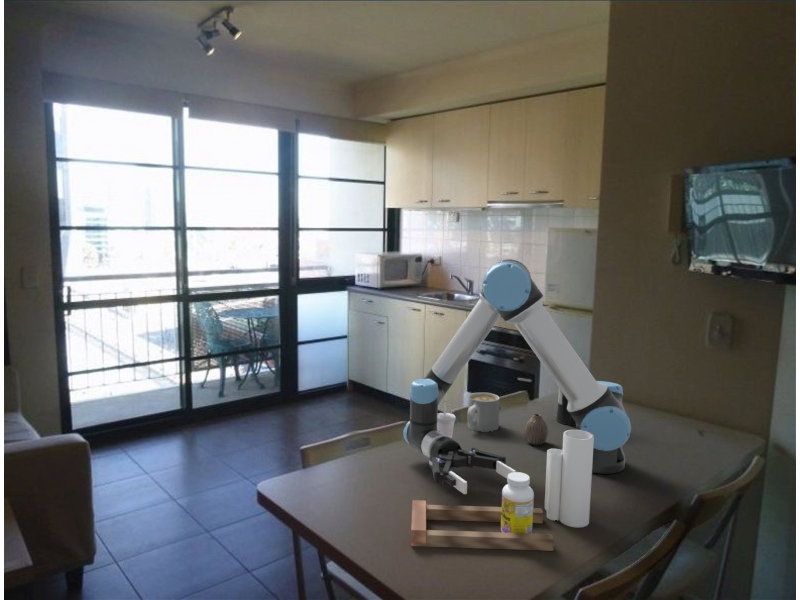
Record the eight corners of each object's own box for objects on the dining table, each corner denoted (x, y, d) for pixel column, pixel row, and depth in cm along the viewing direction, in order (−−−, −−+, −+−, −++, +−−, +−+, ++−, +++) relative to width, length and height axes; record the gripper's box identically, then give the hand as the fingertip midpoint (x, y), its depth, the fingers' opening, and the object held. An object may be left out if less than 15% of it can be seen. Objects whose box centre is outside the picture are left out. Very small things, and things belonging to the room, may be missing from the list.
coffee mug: (482, 419, 199) (483, 390, 198) (504, 427, 191) (505, 397, 190) (453, 427, 191) (454, 397, 189) (475, 436, 183) (476, 405, 182)
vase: (534, 448, 174) (535, 420, 173) (519, 440, 180) (520, 413, 179) (552, 444, 177) (553, 416, 176) (537, 437, 183) (538, 410, 182)
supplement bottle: (497, 525, 130) (499, 470, 128) (526, 524, 130) (529, 469, 128) (505, 542, 123) (507, 483, 121) (536, 540, 124) (538, 482, 122)
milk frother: (554, 415, 204) (556, 374, 202) (601, 418, 201) (604, 376, 199) (559, 430, 190) (561, 385, 188) (610, 433, 187) (613, 388, 185)
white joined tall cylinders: (594, 520, 132) (599, 435, 130) (578, 531, 128) (582, 443, 125) (551, 502, 141) (555, 421, 138) (533, 512, 136) (537, 429, 133)
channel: (540, 518, 133) (541, 504, 132) (553, 550, 120) (554, 534, 119) (412, 514, 134) (412, 500, 133) (411, 545, 121) (411, 529, 121)
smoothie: (455, 444, 177) (456, 399, 175) (454, 452, 170) (456, 405, 168) (433, 443, 177) (434, 398, 175) (432, 451, 171) (433, 404, 169)
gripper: (481, 455, 159) (532, 487, 140) (398, 472, 147) (443, 509, 129) (481, 428, 158) (534, 457, 139) (399, 443, 146) (444, 477, 128)
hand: (490, 482), depth 134 cm, fingers open, 13 cm apart
